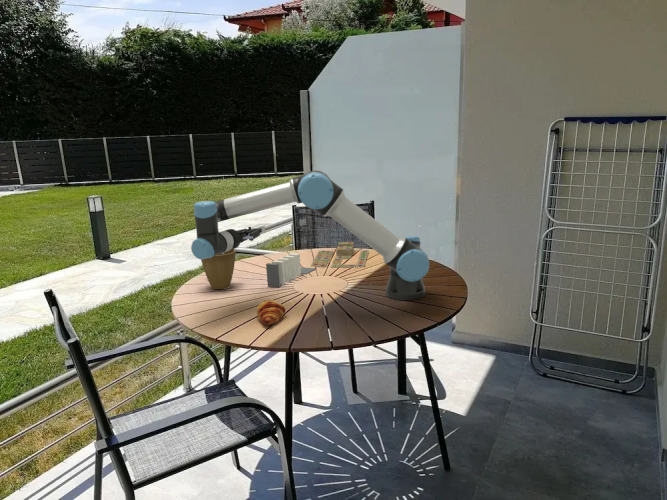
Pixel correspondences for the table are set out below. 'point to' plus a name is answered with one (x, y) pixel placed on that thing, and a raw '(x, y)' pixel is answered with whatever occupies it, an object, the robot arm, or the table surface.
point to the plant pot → (220, 269)
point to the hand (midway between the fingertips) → (263, 228)
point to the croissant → (270, 312)
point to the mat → (306, 270)
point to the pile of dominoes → (340, 256)
